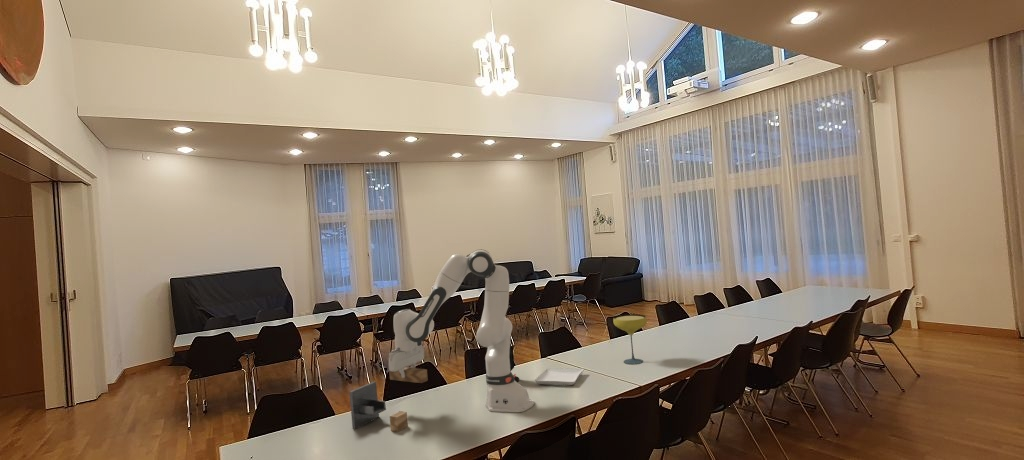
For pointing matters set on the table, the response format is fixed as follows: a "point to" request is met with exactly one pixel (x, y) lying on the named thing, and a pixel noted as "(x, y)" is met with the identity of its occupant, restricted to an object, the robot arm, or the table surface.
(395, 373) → the walnut rail
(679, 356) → the table surface
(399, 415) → the oak post
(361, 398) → the bracket
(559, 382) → the salad plate
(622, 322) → the cocktail glass
